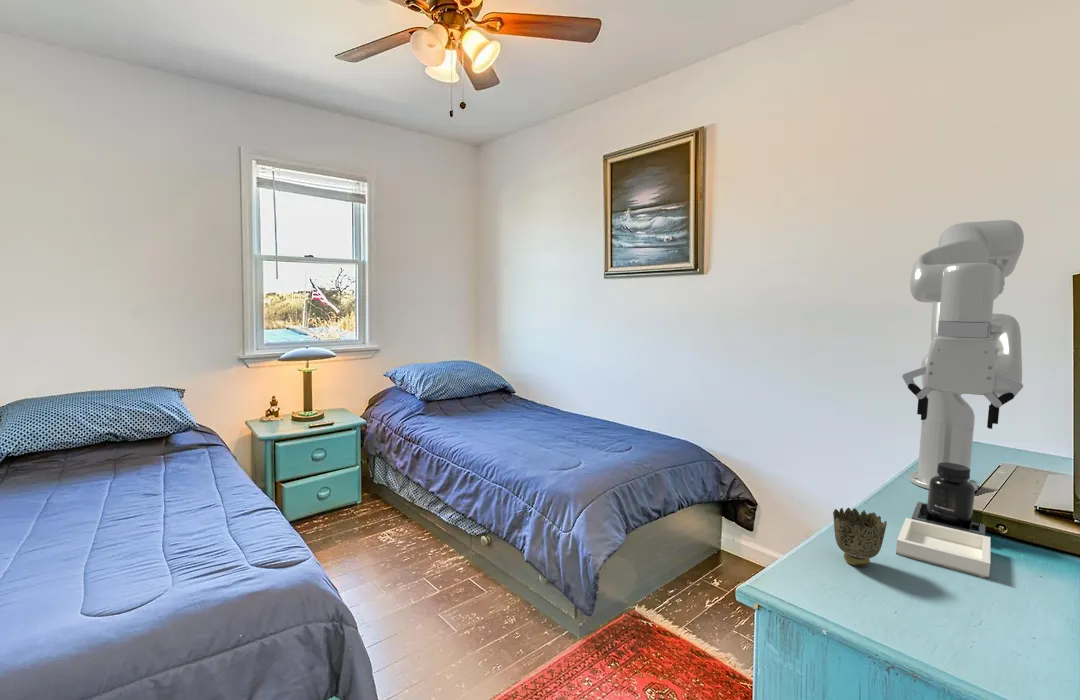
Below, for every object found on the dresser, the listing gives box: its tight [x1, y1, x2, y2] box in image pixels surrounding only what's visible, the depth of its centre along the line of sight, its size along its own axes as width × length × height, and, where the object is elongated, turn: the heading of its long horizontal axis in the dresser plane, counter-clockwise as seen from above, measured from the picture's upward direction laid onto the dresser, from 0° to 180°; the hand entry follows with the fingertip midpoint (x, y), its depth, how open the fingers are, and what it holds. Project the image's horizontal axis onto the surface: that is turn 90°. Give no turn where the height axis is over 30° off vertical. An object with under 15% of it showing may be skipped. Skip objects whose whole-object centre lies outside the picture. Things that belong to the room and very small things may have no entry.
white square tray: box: [895, 517, 992, 580], centre depth 89 cm, size 12×12×2 cm
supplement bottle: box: [925, 462, 976, 530], centre depth 99 cm, size 7×7×12 cm
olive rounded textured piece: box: [832, 507, 888, 568], centre depth 85 cm, size 8×7×8 cm
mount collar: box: [911, 501, 986, 536], centre depth 99 cm, size 11×11×2 cm
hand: (955, 422), depth 97 cm, fingers open, 9 cm apart
